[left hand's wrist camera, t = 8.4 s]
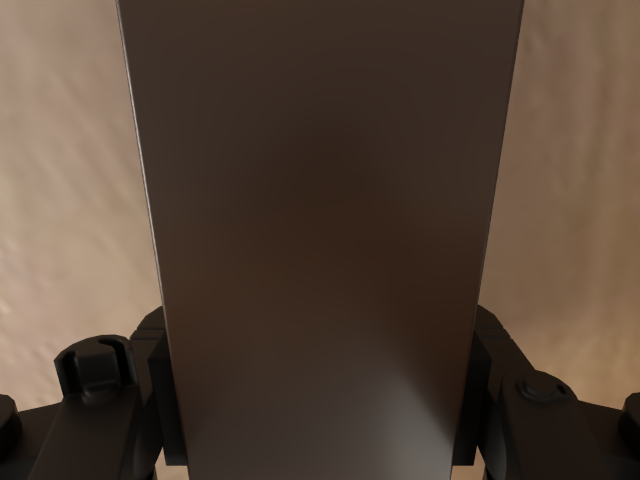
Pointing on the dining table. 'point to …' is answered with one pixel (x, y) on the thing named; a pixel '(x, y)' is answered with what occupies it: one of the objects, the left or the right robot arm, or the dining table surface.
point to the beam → (319, 222)
